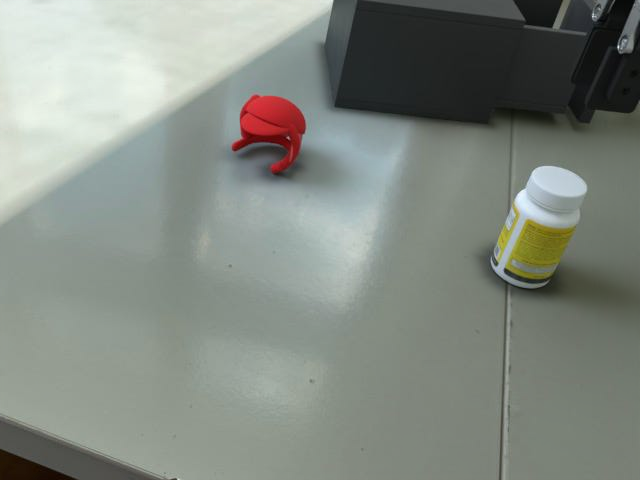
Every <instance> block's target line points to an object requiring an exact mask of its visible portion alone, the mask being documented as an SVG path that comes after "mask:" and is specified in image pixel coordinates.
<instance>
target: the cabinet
mask: <svg viewBox="0 0 640 480" xmlns="http://www.w3.org/2000/svg"><path fill="white" fill-rule="evenodd" d="M525 22H526V20H525V19H524V17H523V15H522V14H521V12H520V11H519V9H518V8H517V6H516V4H515V3H514V1H513V0H332V5H331V11H330V16H329V20H328V25H327V31H326V36H325V42H324V51H325V58H326V64H327V69H328V76H329V81H330V88H331V94H332V101H333V106H334V107H336V108H337V107H338V108H346V109H355V110H362V111H363V110H364V111H372V112H379V113H380V112H381V113H388V114H397V115H407V116H415V117H426V118H431V119H432V118H433V119H442V120H451V121H460V122H467V123H475V124H476V123H477V124H485V125H486V124H487V125H488V124H489V123H490V120H491V118H492V114H493V112H494V109H495V107H496V106H495V104H496V101H497V98H498V96H499V93H500V90H501V87H502V85H503V82H504V79H505V76H506V74H507V71H508V68H509V66H510V63H511V60H512V57H513V55H514V52H515V49H516V46H517V44H518V41H519V38H520V36H521V33H522V30H523V27H524V25H525Z"/></svg>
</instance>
